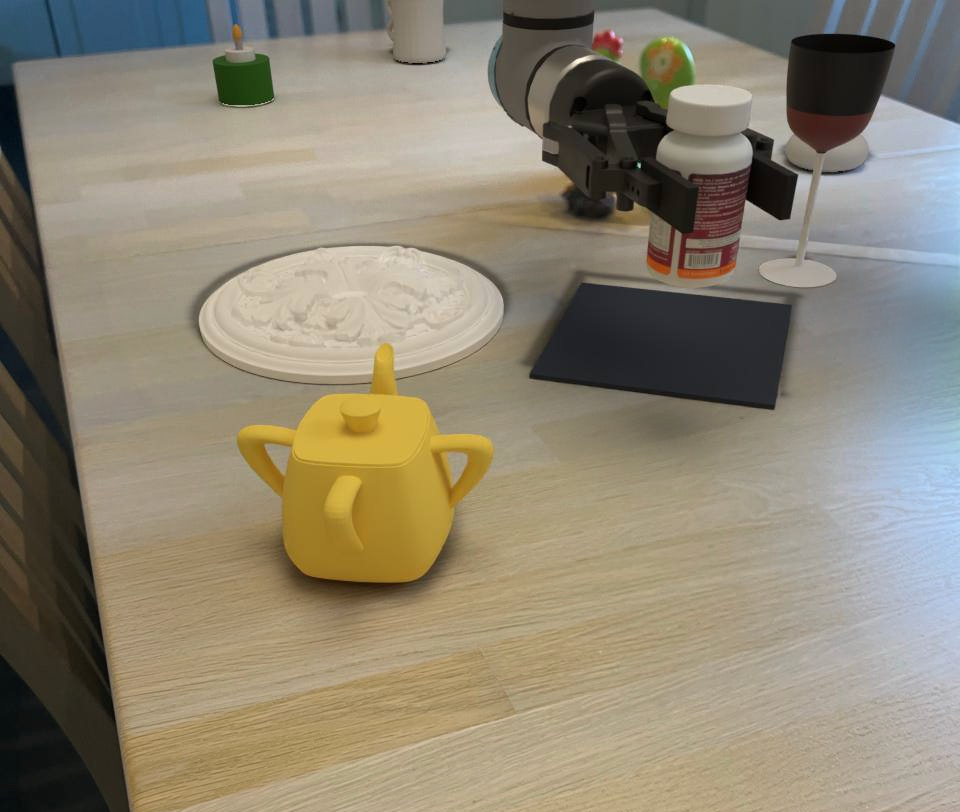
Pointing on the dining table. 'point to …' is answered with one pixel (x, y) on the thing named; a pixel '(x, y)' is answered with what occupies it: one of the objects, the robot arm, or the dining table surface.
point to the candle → (243, 74)
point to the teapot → (366, 482)
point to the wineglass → (828, 120)
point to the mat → (669, 344)
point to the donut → (828, 154)
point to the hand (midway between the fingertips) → (740, 204)
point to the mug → (417, 30)
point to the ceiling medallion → (350, 314)
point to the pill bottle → (704, 184)
